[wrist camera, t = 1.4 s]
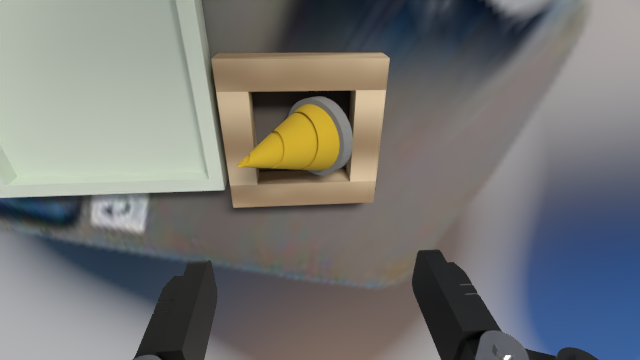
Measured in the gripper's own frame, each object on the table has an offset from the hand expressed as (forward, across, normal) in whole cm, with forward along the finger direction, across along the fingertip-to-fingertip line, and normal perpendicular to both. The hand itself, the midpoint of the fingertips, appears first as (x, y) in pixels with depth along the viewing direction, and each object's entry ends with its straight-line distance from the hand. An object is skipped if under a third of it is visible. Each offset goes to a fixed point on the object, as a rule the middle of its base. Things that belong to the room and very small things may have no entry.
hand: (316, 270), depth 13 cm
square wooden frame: (+14, 0, 0) cm, 14 cm away
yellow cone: (+14, 0, 0) cm, 14 cm away
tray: (+14, +14, -4) cm, 20 cm away
